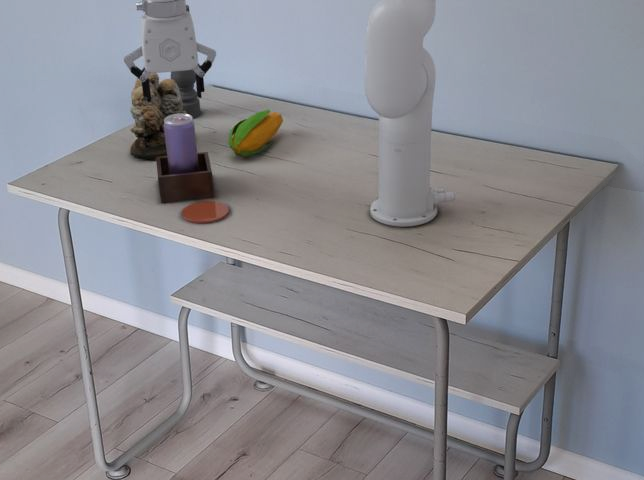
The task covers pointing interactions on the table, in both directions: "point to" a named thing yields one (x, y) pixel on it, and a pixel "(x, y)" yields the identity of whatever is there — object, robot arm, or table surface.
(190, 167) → the beverage can
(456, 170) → the table surface
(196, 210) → the coaster
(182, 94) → the candle holder
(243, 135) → the corn
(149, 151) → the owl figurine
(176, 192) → the caddy
